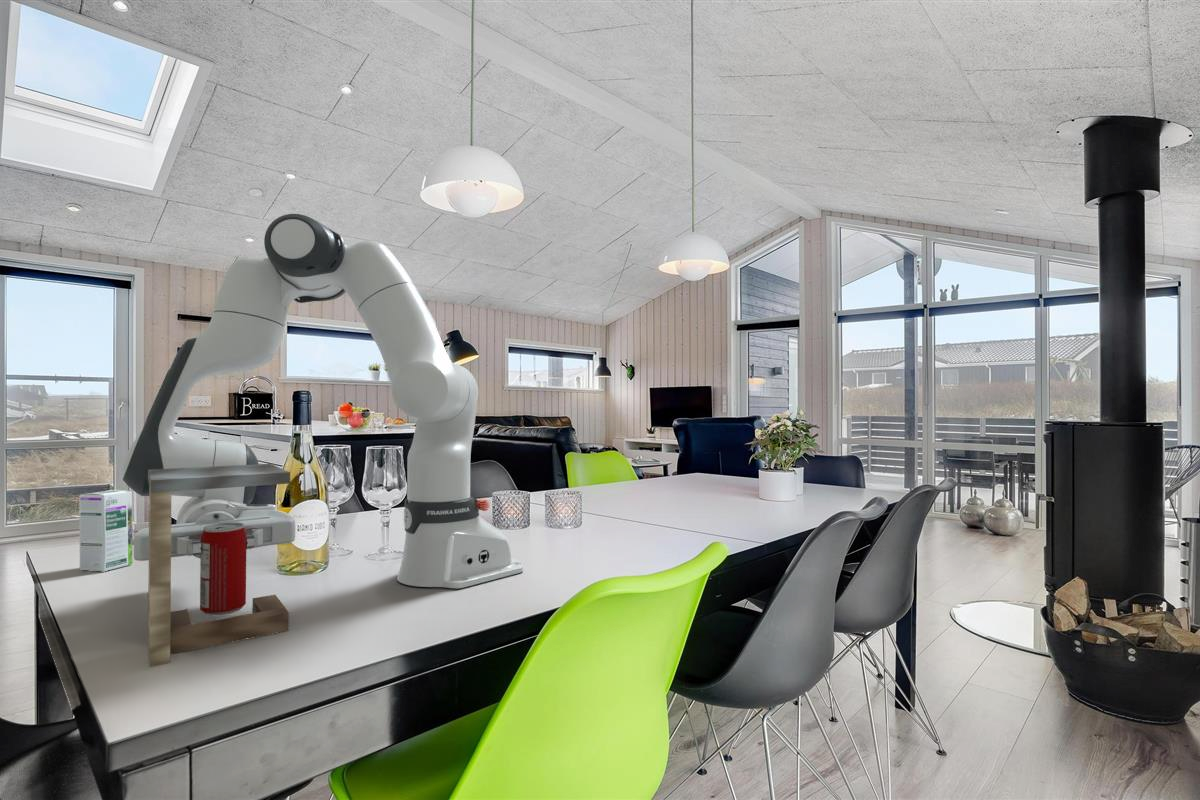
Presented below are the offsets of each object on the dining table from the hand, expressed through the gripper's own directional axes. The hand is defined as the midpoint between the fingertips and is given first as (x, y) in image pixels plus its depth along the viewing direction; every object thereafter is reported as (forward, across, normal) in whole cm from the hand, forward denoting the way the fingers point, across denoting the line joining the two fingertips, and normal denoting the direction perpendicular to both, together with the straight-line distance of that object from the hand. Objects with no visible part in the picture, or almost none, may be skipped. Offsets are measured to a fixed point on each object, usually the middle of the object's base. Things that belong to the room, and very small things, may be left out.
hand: (224, 545), depth 86 cm
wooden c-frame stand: (+2, -1, +11) cm, 12 cm away
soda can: (-1, 0, +9) cm, 9 cm away
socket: (+2, 0, +11) cm, 11 cm away
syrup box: (-50, -14, +12) cm, 54 cm away
